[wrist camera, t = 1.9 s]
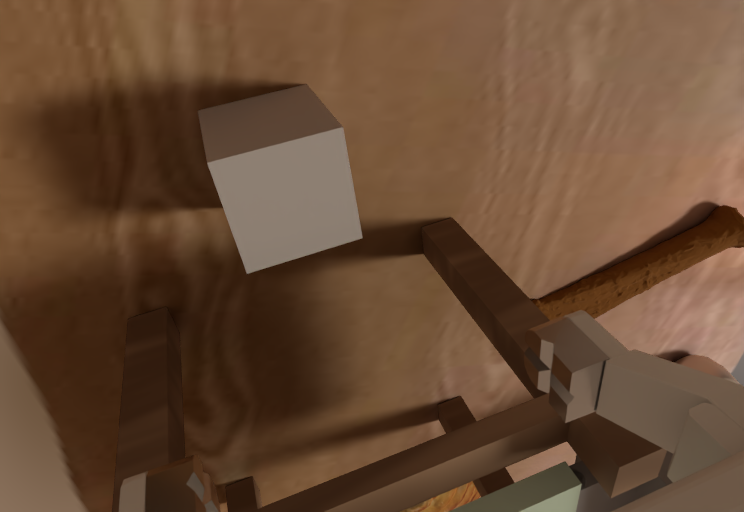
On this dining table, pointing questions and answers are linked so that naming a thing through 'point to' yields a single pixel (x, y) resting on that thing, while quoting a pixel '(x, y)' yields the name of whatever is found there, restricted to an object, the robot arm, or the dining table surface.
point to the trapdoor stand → (420, 463)
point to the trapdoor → (563, 492)
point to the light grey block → (281, 175)
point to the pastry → (448, 500)
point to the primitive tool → (647, 267)
